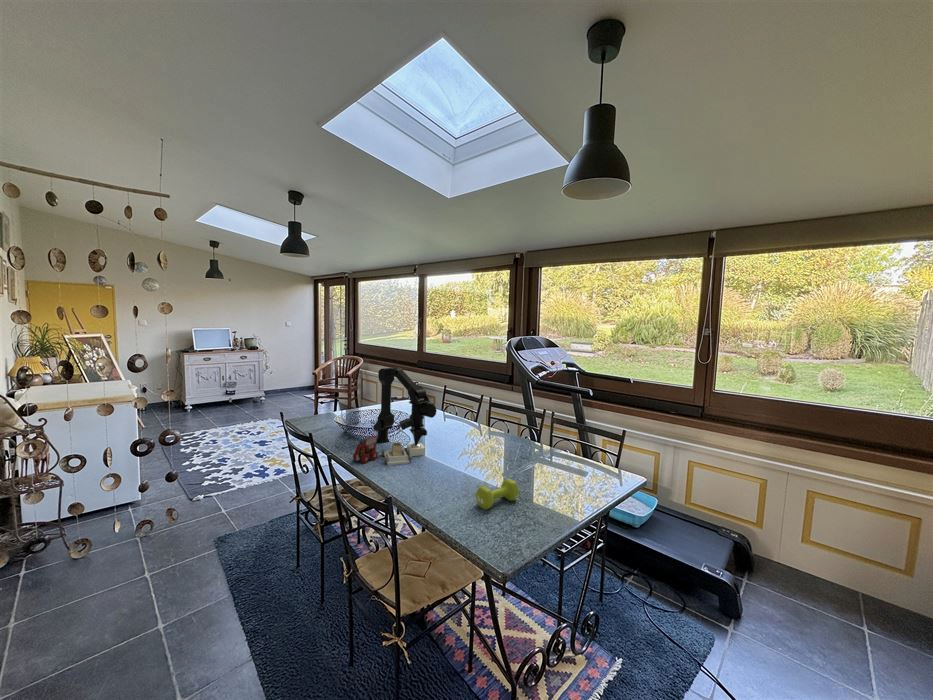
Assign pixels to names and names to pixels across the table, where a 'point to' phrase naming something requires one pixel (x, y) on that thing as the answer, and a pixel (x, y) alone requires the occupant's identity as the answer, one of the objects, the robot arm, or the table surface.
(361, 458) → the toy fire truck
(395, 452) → the engine block
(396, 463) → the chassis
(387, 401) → the robot arm
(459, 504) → the table surface
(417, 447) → the plunger
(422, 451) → the plunger housing
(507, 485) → the dumbbell
